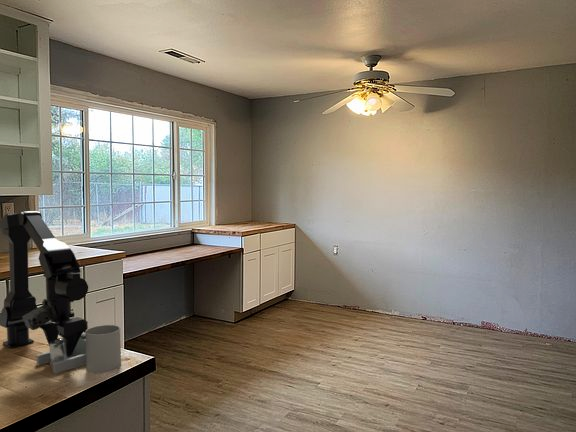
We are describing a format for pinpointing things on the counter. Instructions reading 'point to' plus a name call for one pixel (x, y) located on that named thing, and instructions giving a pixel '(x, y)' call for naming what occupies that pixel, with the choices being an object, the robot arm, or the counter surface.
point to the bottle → (57, 351)
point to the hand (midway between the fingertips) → (60, 352)
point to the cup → (103, 349)
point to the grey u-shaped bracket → (70, 362)
